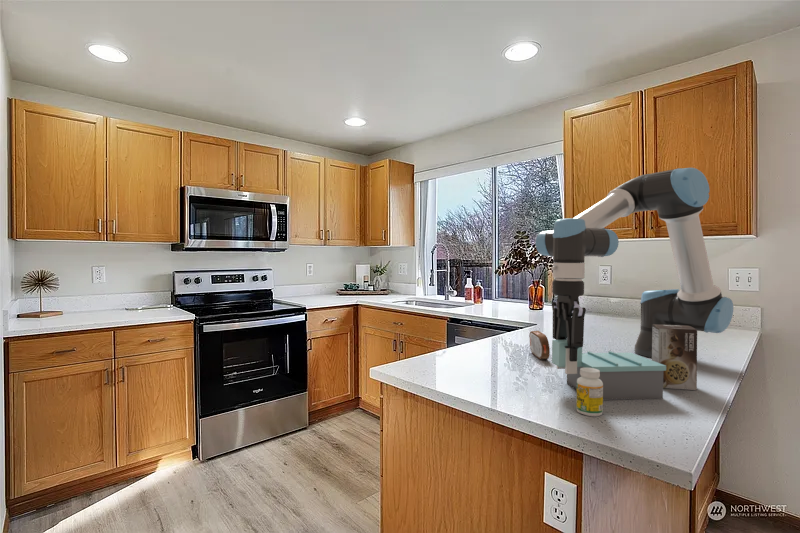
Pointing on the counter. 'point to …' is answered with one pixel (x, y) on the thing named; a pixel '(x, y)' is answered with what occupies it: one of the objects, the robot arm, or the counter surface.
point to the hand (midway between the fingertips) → (566, 370)
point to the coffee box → (676, 355)
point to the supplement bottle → (589, 392)
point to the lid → (604, 360)
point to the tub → (627, 384)
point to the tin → (539, 345)
